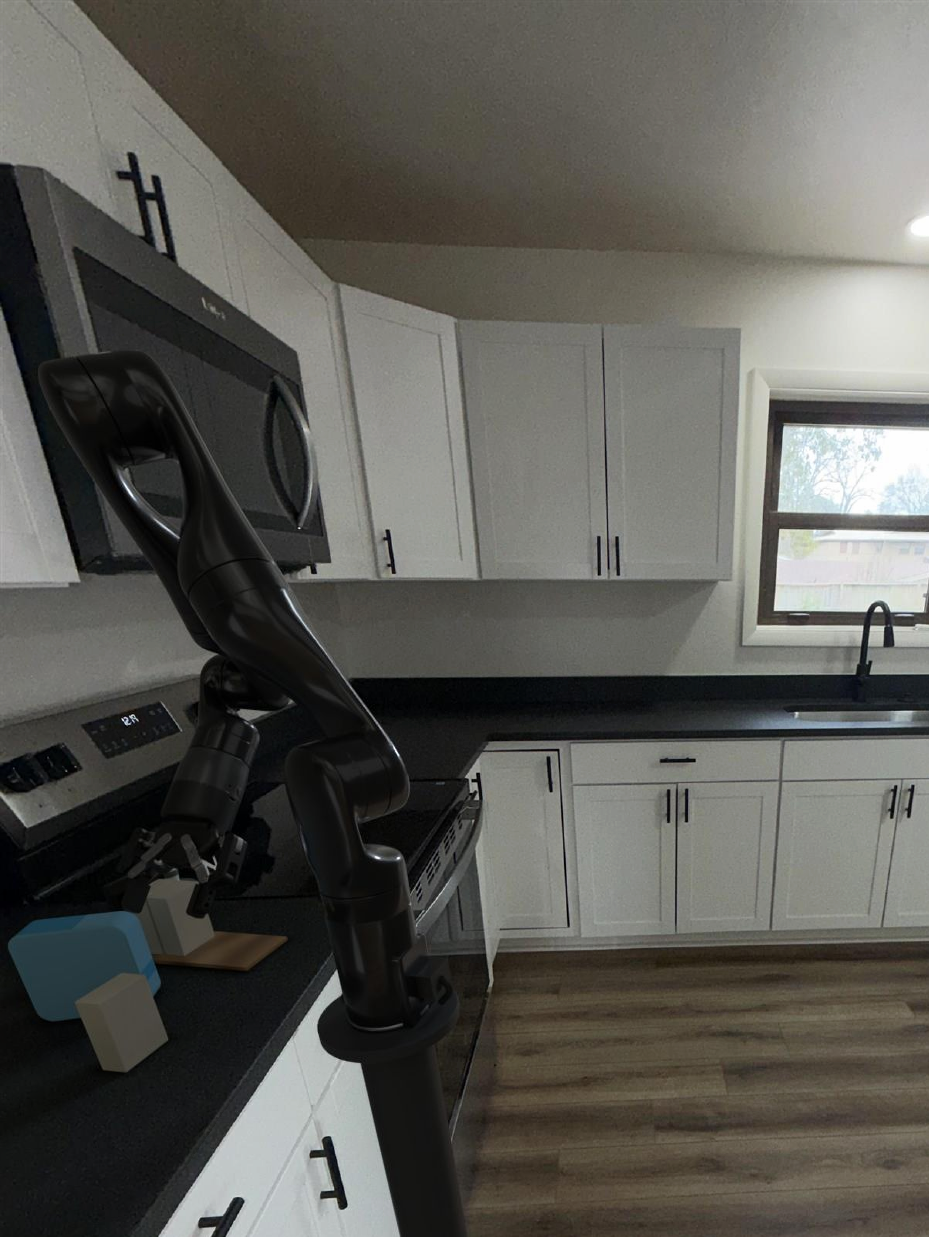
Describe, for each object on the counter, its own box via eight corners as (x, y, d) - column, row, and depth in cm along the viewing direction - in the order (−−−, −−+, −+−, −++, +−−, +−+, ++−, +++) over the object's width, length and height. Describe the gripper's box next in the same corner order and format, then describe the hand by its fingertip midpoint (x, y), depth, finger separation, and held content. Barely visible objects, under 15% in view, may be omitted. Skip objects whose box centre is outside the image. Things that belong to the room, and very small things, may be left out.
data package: (164, 990, 94) (136, 908, 89) (152, 1009, 90) (121, 924, 85) (58, 1004, 91) (22, 920, 86) (40, 1024, 87) (2, 938, 82)
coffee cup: (173, 905, 117) (164, 877, 115) (113, 899, 119) (103, 871, 117) (228, 876, 128) (220, 850, 126) (171, 871, 130) (163, 846, 128)
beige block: (168, 1039, 84) (145, 974, 80) (126, 1072, 78) (98, 1004, 75) (146, 1037, 84) (121, 972, 81) (102, 1070, 79) (74, 1002, 75)
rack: (288, 939, 106) (269, 868, 101) (246, 971, 98) (224, 895, 93) (177, 931, 109) (154, 861, 104) (128, 961, 101) (101, 886, 96)
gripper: (133, 775, 87) (81, 899, 81) (238, 779, 85) (193, 908, 79) (179, 803, 94) (134, 920, 88) (277, 808, 92) (238, 928, 86)
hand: (162, 914), depth 84 cm, fingers open, 8 cm apart
